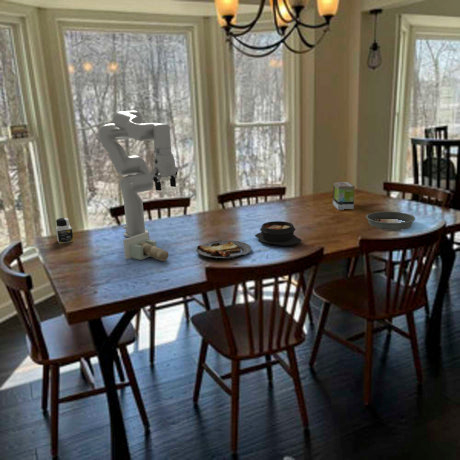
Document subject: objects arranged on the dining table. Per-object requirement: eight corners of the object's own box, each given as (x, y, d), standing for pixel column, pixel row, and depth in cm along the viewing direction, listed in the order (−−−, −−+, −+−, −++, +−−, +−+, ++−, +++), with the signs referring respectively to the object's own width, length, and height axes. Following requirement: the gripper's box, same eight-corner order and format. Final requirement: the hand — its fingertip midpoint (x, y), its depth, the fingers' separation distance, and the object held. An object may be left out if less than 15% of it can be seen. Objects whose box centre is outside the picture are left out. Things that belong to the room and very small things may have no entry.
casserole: (246, 240, 222) (245, 224, 220) (273, 232, 233) (273, 216, 231) (282, 252, 203) (282, 234, 201) (310, 243, 214) (310, 226, 212)
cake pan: (394, 217, 254) (394, 209, 252) (425, 228, 231) (425, 219, 230) (356, 222, 247) (356, 214, 246) (384, 233, 224) (384, 225, 223)
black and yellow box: (59, 244, 228) (55, 221, 225) (57, 240, 234) (53, 218, 231) (73, 241, 231) (70, 219, 228) (71, 238, 237) (68, 216, 234)
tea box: (354, 209, 272) (355, 185, 268) (337, 210, 273) (338, 186, 268) (348, 204, 287) (349, 181, 283) (332, 204, 287) (333, 181, 283)
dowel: (138, 253, 203) (138, 243, 201) (146, 250, 207) (146, 240, 205) (160, 262, 196) (160, 252, 194) (168, 259, 199) (168, 249, 197)
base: (125, 258, 202) (123, 239, 200) (148, 250, 213) (146, 231, 210) (127, 259, 201) (125, 240, 199) (150, 250, 212) (148, 232, 210)
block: (130, 257, 203) (129, 244, 201) (147, 251, 210) (146, 239, 209) (140, 260, 199) (139, 247, 197) (157, 253, 207) (156, 241, 205)
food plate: (207, 264, 191) (207, 256, 190) (189, 249, 211) (189, 242, 211) (259, 256, 201) (259, 248, 200) (237, 242, 221) (237, 236, 220)
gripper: (155, 154, 196) (158, 192, 201) (182, 149, 209) (184, 186, 214) (143, 153, 201) (146, 191, 205) (170, 149, 214) (173, 184, 219)
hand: (166, 188), depth 210 cm, fingers open, 9 cm apart
